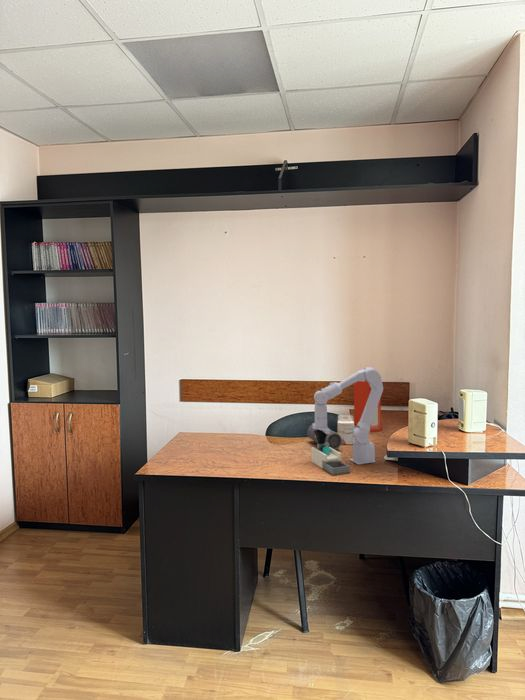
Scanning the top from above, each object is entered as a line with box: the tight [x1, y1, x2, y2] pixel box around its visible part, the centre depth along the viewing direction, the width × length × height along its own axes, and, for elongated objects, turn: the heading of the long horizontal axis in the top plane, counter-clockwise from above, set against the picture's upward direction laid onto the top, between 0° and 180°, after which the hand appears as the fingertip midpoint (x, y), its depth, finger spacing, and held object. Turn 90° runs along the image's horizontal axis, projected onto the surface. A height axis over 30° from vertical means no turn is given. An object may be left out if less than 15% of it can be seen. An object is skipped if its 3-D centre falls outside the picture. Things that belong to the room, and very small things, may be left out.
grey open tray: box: [323, 460, 351, 476], centre depth 210 cm, size 8×8×3 cm
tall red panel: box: [353, 380, 382, 433], centre depth 285 cm, size 8×17×32 cm, turn 19°
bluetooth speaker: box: [306, 424, 342, 450], centre depth 250 cm, size 23×9×10 cm, turn 21°
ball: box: [323, 446, 331, 455], centre depth 218 cm, size 4×4×4 cm
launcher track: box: [310, 446, 342, 469], centre depth 219 cm, size 8×14×7 cm, turn 20°
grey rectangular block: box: [316, 442, 329, 452], centre depth 221 cm, size 5×2×4 cm, turn 110°
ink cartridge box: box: [336, 414, 355, 445], centre depth 254 cm, size 9×5×15 cm, turn 84°
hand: (321, 445), depth 223 cm, fingers closed
